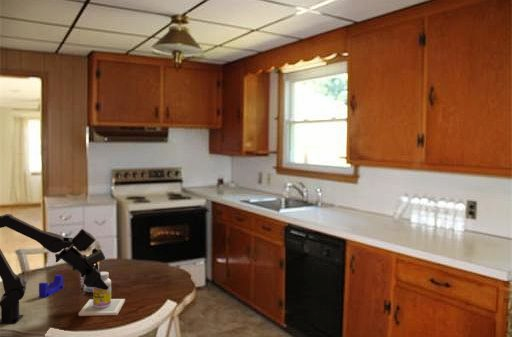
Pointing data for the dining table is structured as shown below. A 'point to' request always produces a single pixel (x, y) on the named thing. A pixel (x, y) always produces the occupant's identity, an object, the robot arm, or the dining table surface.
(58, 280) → the cable clip
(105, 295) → the supplement bottle
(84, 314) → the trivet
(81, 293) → the dining table surface
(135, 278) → the dining table surface
